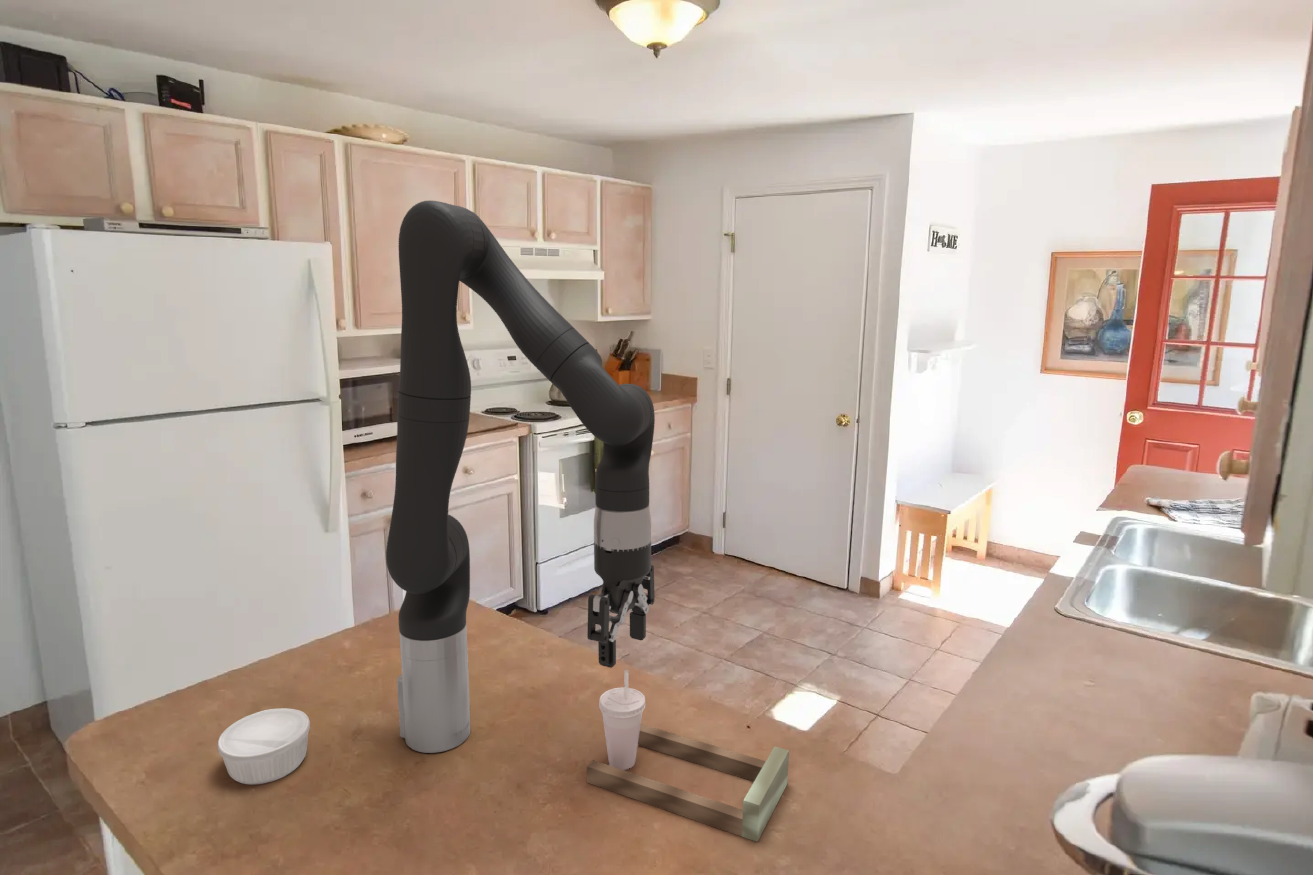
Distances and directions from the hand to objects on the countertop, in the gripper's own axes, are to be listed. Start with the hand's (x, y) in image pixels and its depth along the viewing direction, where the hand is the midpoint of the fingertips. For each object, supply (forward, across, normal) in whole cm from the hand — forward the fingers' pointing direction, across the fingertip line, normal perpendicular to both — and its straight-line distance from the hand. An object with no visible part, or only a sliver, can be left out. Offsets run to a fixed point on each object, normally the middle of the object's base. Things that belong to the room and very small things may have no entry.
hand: (623, 651), depth 103 cm
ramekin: (+17, +23, -43) cm, 52 cm away
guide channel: (+17, 0, +10) cm, 19 cm away
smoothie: (+17, 0, 0) cm, 17 cm away
